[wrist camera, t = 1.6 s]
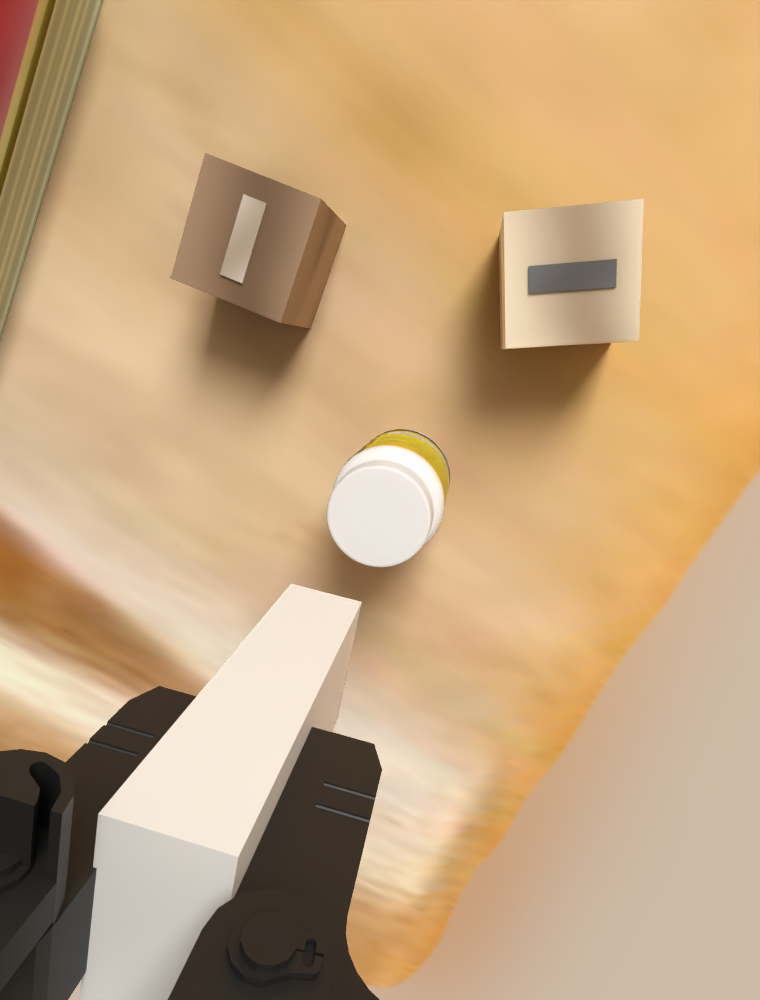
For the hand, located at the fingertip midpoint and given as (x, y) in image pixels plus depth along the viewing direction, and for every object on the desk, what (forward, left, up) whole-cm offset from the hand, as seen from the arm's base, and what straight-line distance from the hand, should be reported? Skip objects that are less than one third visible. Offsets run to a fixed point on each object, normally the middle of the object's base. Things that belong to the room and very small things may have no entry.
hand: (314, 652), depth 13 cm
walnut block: (-8, +9, -19) cm, 23 cm away
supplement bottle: (0, 0, -19) cm, 19 cm away
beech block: (+5, +10, -19) cm, 22 cm away
